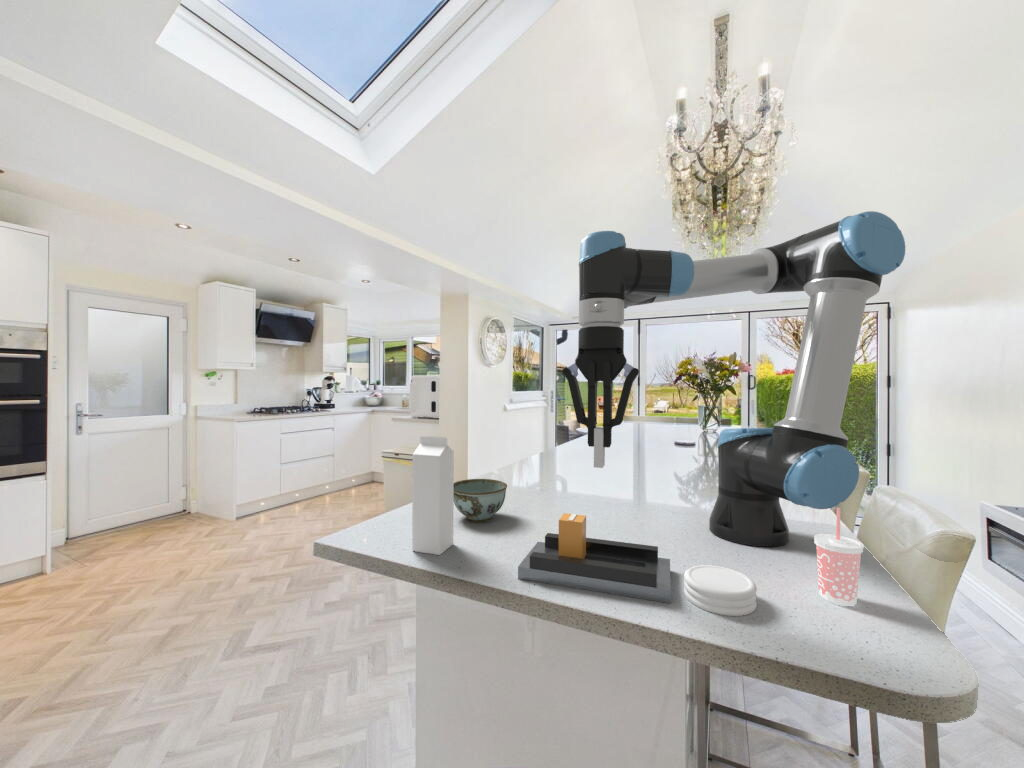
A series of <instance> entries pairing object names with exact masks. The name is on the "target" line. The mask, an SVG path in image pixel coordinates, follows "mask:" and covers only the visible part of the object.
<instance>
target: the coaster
mask: <svg viewBox="0 0 1024 768" xmlns="http://www.w3.org/2000/svg"><path fill="white" fill-rule="evenodd" d="M683 579H684V582H683V587H684V588H683V594H684V596H685V598H686V599H687V600H688V601H689V602H690V603H691V604H692V603H693V604H692V605H694V606H695V605H696V606H695V607H698V608H699V609H701V610H703V611H705V612H710V613H713V614H716V615H719V616H726V617H728V616H729V617H742V616H743V615H744V616H747V615H750V614H752V613H754V612H755V611H756V608H757V607H758V606H757V605H758V603H757V597H758V596H757V592H758V588H757V585H756V583H755V581H754V580H752V579H751V578H750V577H749V576H747V575H746V574H744V573H742V572H740V571H737V570H734V569H732V568H728V567H723V566H718V565H712V564H711V565H709V564H703V565H702V564H701V565H700V564H699V565H695V566H691V567H690V568H688V569H686V570H685V572H684V575H683Z"/></svg>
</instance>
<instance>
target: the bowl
mask: <svg viewBox="0 0 1024 768" xmlns="http://www.w3.org/2000/svg"><path fill="white" fill-rule="evenodd" d="M507 487H508V484H507V483H506V482H505V481H501V480H497V479H491V478H470V479H462V480H458V481H454V498H453V505H454V506H455V508H456V509H457V511H459V513H460V514H462V515H463V516H465V518H466V520H467V519H468V520H467V521H469V522H472V521H474V522H475V523H483V522H489V521H490V520H492V518H493V516H494V515H495V514H496V513H497V512H498V511H500V509H502V506H503V505H504V503H505V499H506V494H507ZM474 522H473V523H474Z"/></svg>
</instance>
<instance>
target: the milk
mask: <svg viewBox="0 0 1024 768" xmlns="http://www.w3.org/2000/svg"><path fill="white" fill-rule="evenodd" d="M454 454H455V453H454V450H453V449H452V448H451V447H450V446H449V445H448V437H446V436H431V435H421V436H420V437H419V444H418V446H417V447H416V449H414V452H413V453H412V466H411V467H412V468H411V469H412V471H411V472H412V476H411V477H412V479H411V481H412V486H411V487H412V494H411V495H412V506H411V507H412V517H411V518H412V520H411V521H412V525H411V526H412V528H411V529H412V532H411V534H412V536H411V537H412V546H411V548H412V549H411V550H412V552H414V551H415V552H416V553H422V554H429V555H436V556H441V555H442V554H443V553H444V552H446V551H447V550H448V549H449V548H450V547H452V546H453V545H454V502H453V498H454V483H455V481H454V471H455V470H454V469H455V468H454V466H455V465H454V463H455V462H454V461H455V460H454V456H455V455H454Z"/></svg>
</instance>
